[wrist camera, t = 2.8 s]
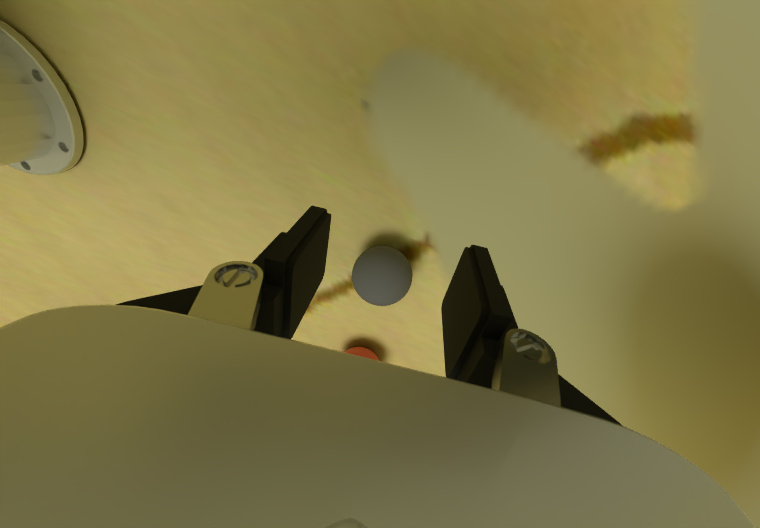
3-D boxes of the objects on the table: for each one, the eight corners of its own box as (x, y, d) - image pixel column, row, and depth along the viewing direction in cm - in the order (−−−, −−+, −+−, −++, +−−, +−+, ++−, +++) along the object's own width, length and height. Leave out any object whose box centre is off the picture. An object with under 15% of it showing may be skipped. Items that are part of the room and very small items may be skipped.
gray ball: (363, 229, 28) (350, 259, 24) (419, 243, 28) (418, 275, 24) (354, 275, 31) (342, 310, 27) (405, 288, 31) (402, 324, 27)
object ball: (343, 332, 36) (331, 370, 31) (388, 343, 36) (382, 382, 31) (338, 361, 39) (326, 400, 34) (379, 372, 39) (372, 411, 34)
